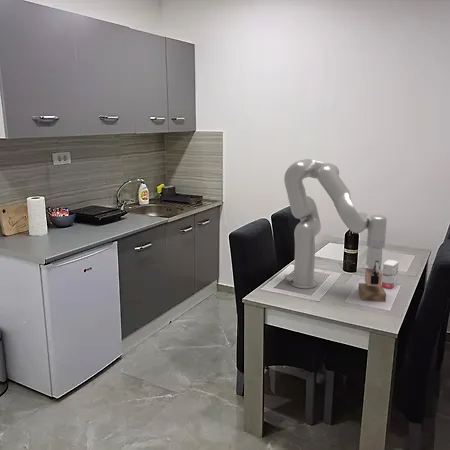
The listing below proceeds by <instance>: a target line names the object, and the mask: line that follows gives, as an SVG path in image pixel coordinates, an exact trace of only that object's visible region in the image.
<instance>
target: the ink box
mask: <svg viewBox="0 0 450 450" xmlns="http://www.w3.org/2000/svg"><path fill="white" fill-rule="evenodd" d="M399 262H400V261H397V260H394V259H387V260H386V261H385V262H383V263H382V264H383V265H382V266H383V267H382V281H381V285H382V287H383V289H384V288H385V289H390V290H392V289H393V288H394V287H395V286H396V285H397V283H398V273H399V264H400V263H399Z"/></svg>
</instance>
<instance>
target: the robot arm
mask: <svg viewBox="0 0 450 450" xmlns="http://www.w3.org/2000/svg"><path fill="white" fill-rule="evenodd" d="M306 178H312V179H316V180H317V181H318V182H319V184H320V185H321V186H322V188H323V189H324V190H325V193H327V194H328V196H329V198H330V199H331V201H332V202H333V206H334V207H335V209H336V211H337V213H338V216H339V218H340V219H341V221H342V222H343V223H344V225H345V226H346V227H347V229H348V230H349V231H350V232H352V233H354V234H360V233H363V231H365V230H367V234H366V235H367V236H366V246H367V249H366V250H367V251H366V258H365V264H366V266H367V268H369V269H370V270H371V269H372V275H371V284H378V282H379V270H380V271H381V269H382V264H383V261H382V260H383V249H384V248H385V244H386V233H387V232H386V231H387V221H388V220H387V217H386V216H385V215H381V214H371V213H370V214H369V213H364V212H358V211H357V209H356V208H355V206H354V204H353V202H352V198H351V192H350V189H349V188H348V186H346V183H345V182H344V181H343V180H342V179H341V177H340V170H339V168H338V166H336V165H335V164H333V163H330V162H325V161H320V160H315V159H310V158H304V159H300V160H298V161H295V162H293V163H292V164H291V165H289V167H288V168H287V169H286V171H285V173H284V179H283V180H284V185H285V190H286V194H287V199H288V203H289V207H290V211H291V214H292V216H293V217H294V218H295V219H299V220H300V222H298V223H297V224H296V226H295V228H294V230H293V231H294V233H293V235H294V265H293V268H294V269H293V272H292V274H284V280H287V281H290V285H291V286H292V287H295V288H297V289H313V288H315V287H317V284H318V282H317V281H316V280H315V279H314V277H315V259H316V257H315V255H316V241H315V240H316V239H315V238H316V236H317V235H319V233H320V231H321V228H322V225H321V220H320V216H319V212H318V208H317V204H316V202H315V200H314V199H313V197H311V196H307V193H306V188H305V185H304V183H303V180H304V179H306ZM374 270H375V271H374Z"/></svg>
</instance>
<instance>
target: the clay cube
mask: <svg viewBox="0 0 450 450" xmlns="http://www.w3.org/2000/svg"><path fill="white" fill-rule="evenodd" d="M364 271H365V272H364V273H365V274H364V282H365V283H366V284H367V286H381V285H382V275H383V271H381V269H380V270H379V282H378V284H371V275H372V269H371V270H370V269H369V268H368V267H367V268H365V270H364ZM374 271H375V270H374Z"/></svg>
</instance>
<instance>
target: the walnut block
mask: <svg viewBox="0 0 450 450" xmlns="http://www.w3.org/2000/svg"><path fill="white" fill-rule="evenodd" d="M357 291H358V293H359V295H360V296H359V297H360V299H361V300H362V301H365V302H366V301H367V302H368V301H369V302H380V303H381V302H383V303H385V302H386V300H387V298H386V297H387V292H386V291H385V289H384V287H382V284H381V286H367V284H366V282H365V283H364V282H359V283H358V290H357Z"/></svg>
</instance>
